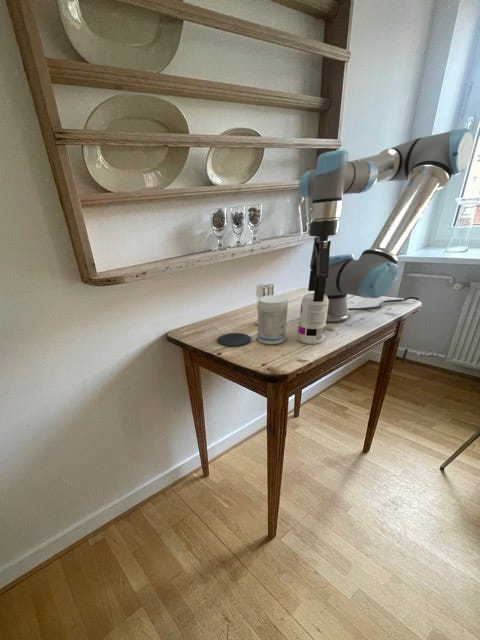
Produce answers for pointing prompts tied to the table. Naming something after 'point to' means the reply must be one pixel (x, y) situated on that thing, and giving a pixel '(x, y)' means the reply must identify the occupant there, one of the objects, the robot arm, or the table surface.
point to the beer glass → (263, 292)
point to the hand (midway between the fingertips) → (315, 295)
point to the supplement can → (312, 319)
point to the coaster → (234, 339)
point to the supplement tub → (272, 319)
